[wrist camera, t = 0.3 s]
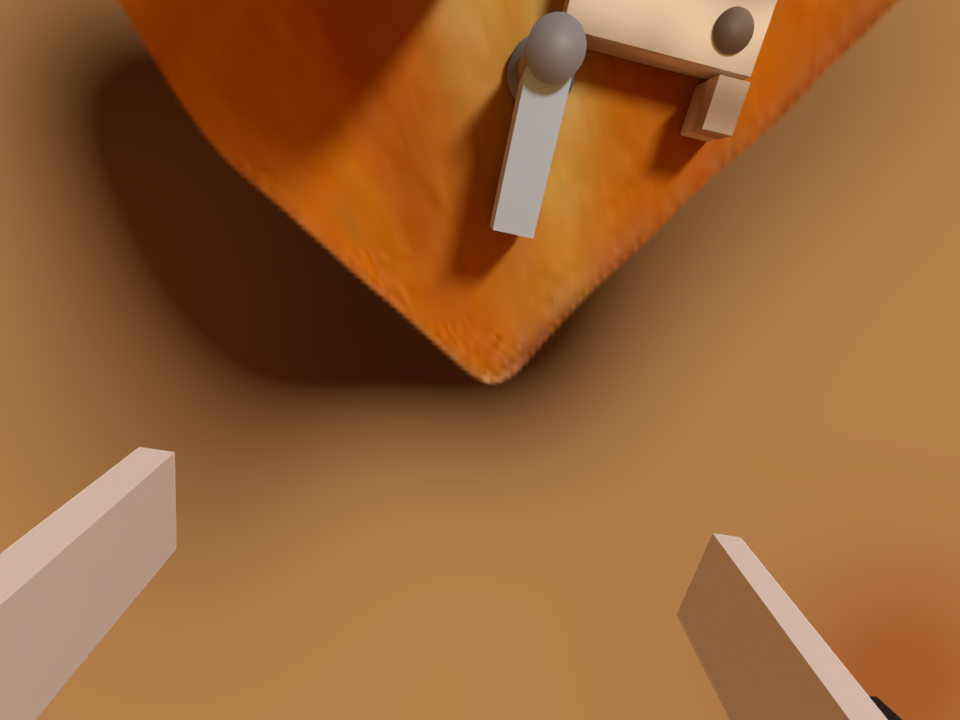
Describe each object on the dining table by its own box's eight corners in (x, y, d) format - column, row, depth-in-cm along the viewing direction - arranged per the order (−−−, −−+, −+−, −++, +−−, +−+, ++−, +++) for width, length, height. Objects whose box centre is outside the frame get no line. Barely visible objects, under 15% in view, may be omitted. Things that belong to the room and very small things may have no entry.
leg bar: (523, 36, 29) (535, 4, 24) (573, 48, 29) (593, 20, 24) (485, 225, 33) (488, 229, 28) (529, 234, 33) (539, 240, 28)
